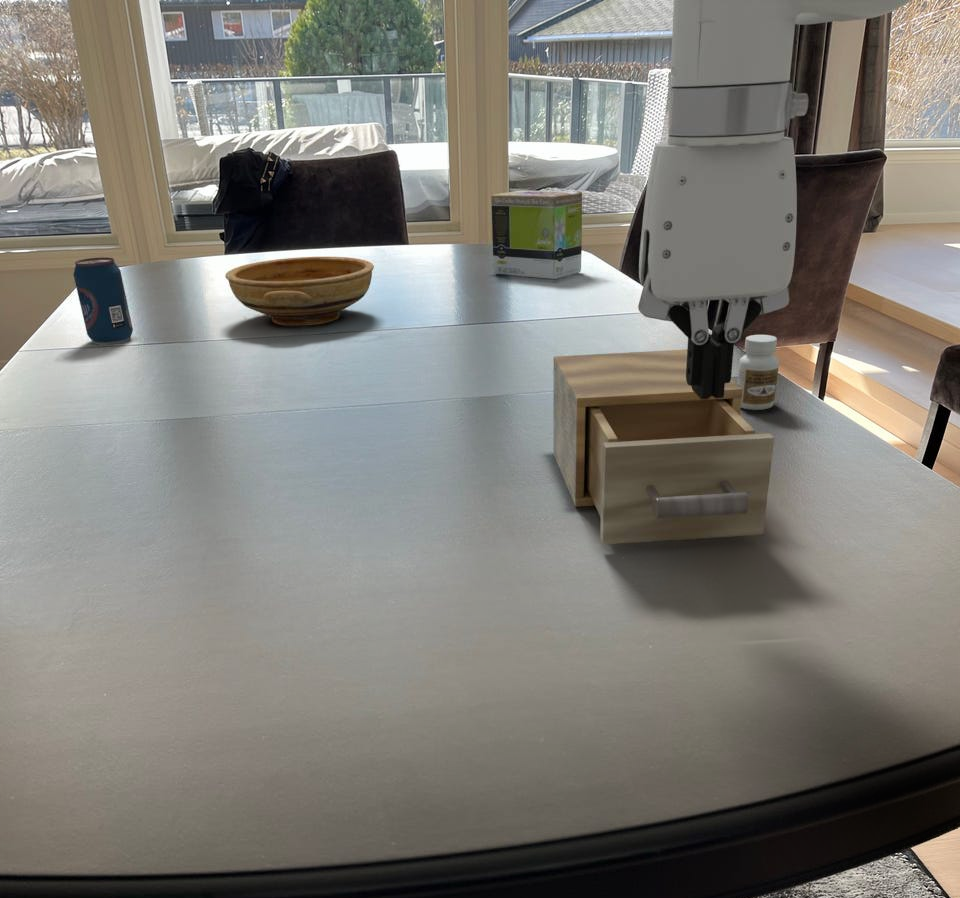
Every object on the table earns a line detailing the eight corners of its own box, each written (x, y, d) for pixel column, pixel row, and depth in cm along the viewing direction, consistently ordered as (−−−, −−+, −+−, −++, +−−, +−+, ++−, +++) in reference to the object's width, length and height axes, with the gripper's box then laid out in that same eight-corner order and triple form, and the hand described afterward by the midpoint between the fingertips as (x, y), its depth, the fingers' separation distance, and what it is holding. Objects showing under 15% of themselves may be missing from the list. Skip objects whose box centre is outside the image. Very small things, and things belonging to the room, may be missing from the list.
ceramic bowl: (255, 302, 178) (249, 255, 173) (388, 298, 176) (384, 251, 172) (210, 341, 152) (201, 287, 148) (365, 337, 151) (360, 283, 147)
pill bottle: (745, 412, 112) (752, 344, 108) (728, 402, 115) (734, 335, 112) (780, 408, 112) (789, 340, 109) (762, 398, 116) (769, 332, 112)
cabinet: (731, 497, 90) (742, 388, 85) (575, 507, 89) (576, 398, 84) (690, 445, 103) (698, 348, 98) (553, 453, 102) (553, 356, 97)
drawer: (782, 559, 76) (796, 458, 72) (613, 570, 76) (617, 468, 72) (716, 476, 92) (724, 389, 88) (576, 485, 92) (577, 398, 87)
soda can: (81, 341, 155) (62, 261, 149) (121, 333, 159) (104, 255, 153) (102, 347, 151) (83, 265, 145) (142, 339, 155) (126, 259, 149)
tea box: (582, 272, 192) (584, 190, 185) (553, 281, 185) (554, 196, 178) (521, 266, 200) (520, 187, 193) (491, 274, 194) (489, 193, 186)
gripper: (816, 109, 68) (787, 373, 77) (603, 121, 67) (599, 387, 76) (861, 112, 61) (823, 401, 70) (626, 126, 60) (618, 416, 70)
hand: (707, 393), depth 73 cm, fingers closed
